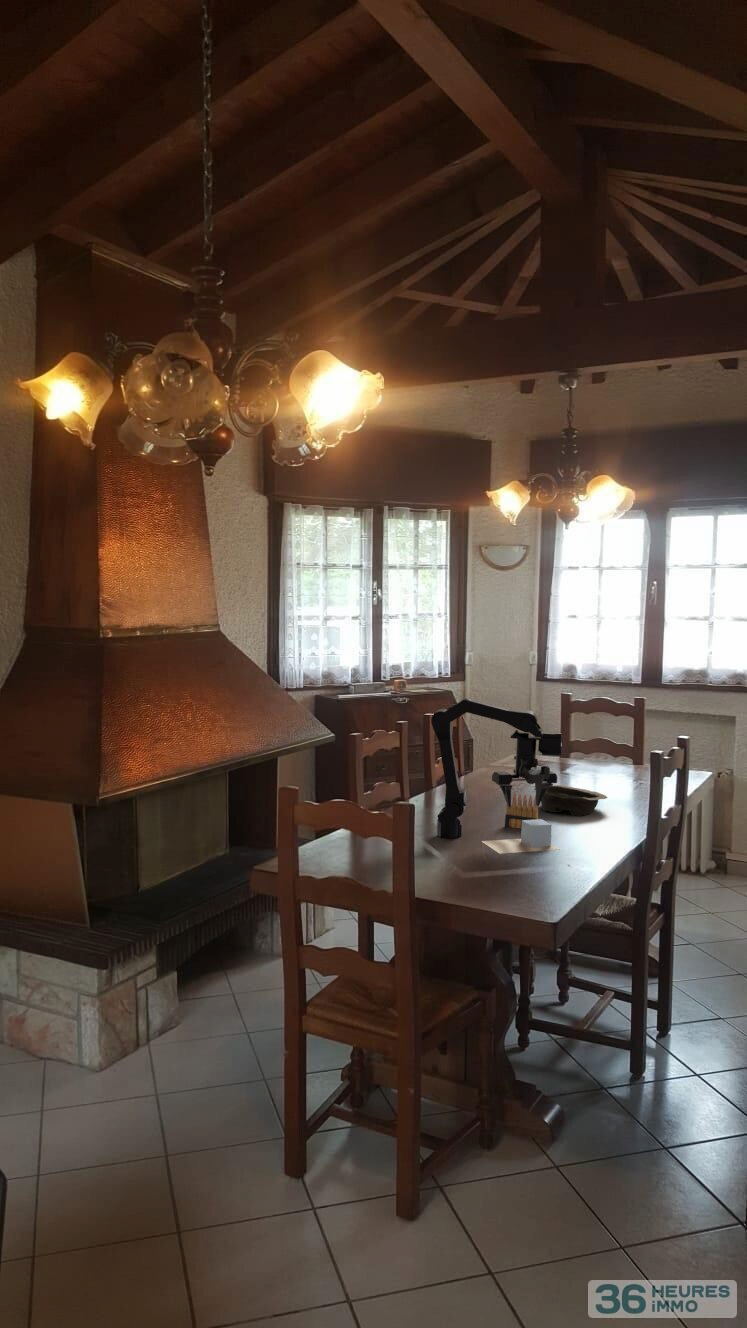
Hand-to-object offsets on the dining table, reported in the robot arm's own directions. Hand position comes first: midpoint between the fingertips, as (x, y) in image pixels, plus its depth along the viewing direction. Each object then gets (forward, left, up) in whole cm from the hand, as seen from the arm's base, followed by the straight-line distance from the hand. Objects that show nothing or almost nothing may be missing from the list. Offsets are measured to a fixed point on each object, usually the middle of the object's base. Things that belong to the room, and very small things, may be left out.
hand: (523, 806), depth 266 cm
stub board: (-2, -3, -12) cm, 13 cm away
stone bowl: (+36, +37, -12) cm, 53 cm away
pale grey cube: (+3, -3, -11) cm, 12 cm away
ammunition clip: (+7, +15, -12) cm, 20 cm away
